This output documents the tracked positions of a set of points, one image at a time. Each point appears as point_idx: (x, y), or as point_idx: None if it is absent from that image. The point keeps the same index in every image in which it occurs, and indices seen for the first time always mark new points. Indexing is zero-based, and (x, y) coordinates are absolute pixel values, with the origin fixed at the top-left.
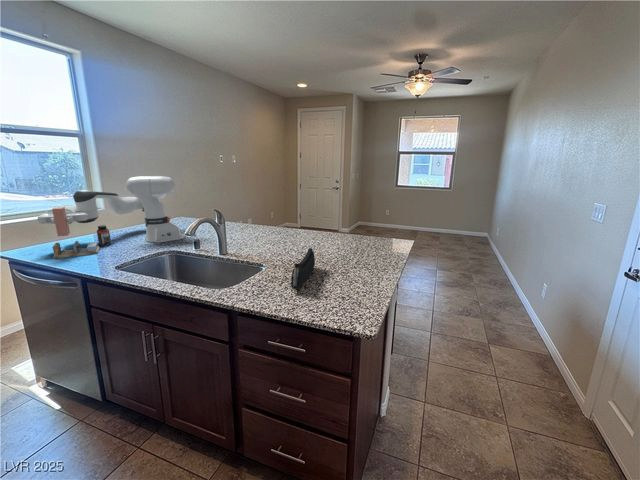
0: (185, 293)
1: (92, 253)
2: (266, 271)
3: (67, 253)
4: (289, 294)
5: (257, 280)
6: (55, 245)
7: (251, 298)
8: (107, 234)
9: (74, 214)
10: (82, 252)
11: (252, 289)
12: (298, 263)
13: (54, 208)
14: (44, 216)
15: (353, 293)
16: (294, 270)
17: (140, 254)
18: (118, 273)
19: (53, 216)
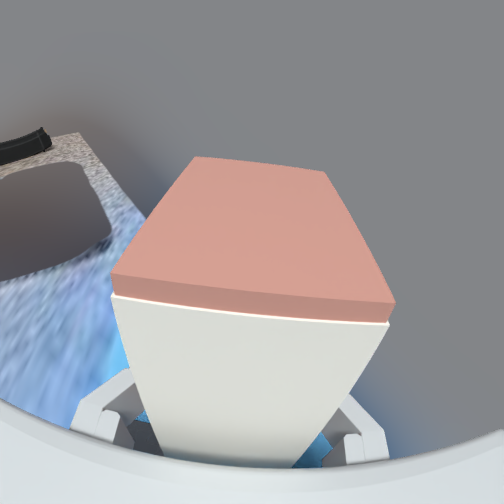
0: (101, 164)
1: None
2: (12, 172)
3: None
4: (54, 150)
5: (38, 164)
6: None
7: (75, 151)
8: None
9: (26, 454)
10: (149, 424)
11: (59, 157)
12: (33, 132)
13: (313, 189)
14: (479, 462)
15: None
16: (46, 131)
17: (10, 301)
18: (121, 221)
19: (369, 467)
